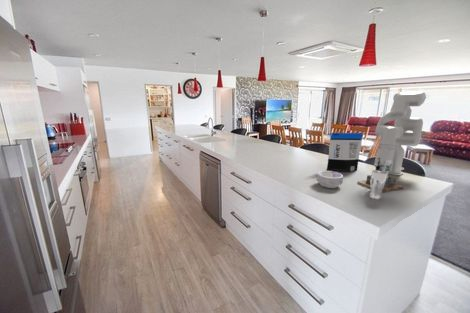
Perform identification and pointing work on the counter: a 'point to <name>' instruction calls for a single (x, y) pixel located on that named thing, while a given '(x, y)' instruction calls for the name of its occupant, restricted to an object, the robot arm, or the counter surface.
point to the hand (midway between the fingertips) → (381, 174)
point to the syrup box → (386, 167)
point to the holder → (388, 186)
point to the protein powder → (344, 152)
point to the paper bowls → (329, 179)
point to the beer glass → (377, 184)
